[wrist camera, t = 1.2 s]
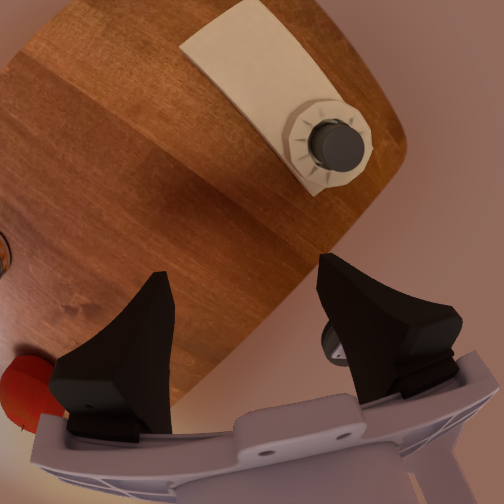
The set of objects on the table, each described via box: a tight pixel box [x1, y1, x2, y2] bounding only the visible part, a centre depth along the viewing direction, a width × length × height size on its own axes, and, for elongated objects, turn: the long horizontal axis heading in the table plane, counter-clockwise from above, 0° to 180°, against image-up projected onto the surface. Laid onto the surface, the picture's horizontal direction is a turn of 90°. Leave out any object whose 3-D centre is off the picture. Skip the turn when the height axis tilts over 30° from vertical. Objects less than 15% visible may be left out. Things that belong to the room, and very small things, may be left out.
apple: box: [0, 355, 65, 434], centre depth 25 cm, size 10×10×12 cm
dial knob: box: [311, 123, 365, 172], centre depth 16 cm, size 3×3×2 cm
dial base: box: [179, 0, 374, 197], centre depth 16 cm, size 14×6×4 cm, turn 40°
